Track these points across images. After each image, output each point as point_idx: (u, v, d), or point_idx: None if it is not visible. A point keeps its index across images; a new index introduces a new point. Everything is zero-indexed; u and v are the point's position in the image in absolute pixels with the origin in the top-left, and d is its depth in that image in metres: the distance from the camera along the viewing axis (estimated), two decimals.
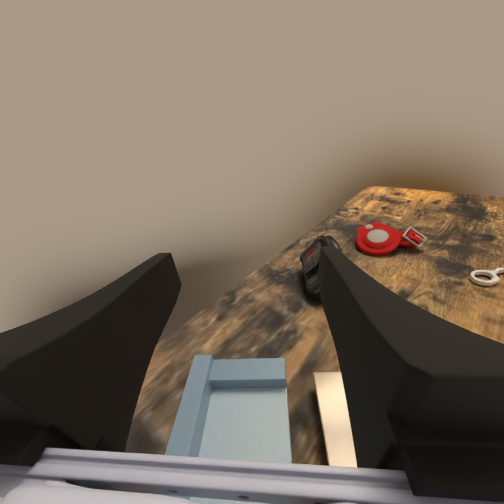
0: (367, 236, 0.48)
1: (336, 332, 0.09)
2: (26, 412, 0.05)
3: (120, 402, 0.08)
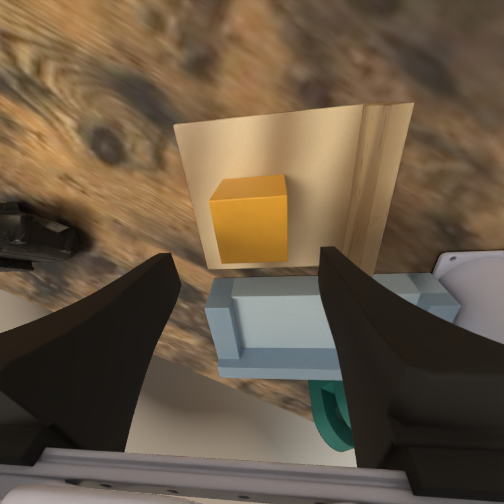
0: None
1: (336, 332, 0.09)
2: (26, 411, 0.05)
3: (120, 402, 0.08)
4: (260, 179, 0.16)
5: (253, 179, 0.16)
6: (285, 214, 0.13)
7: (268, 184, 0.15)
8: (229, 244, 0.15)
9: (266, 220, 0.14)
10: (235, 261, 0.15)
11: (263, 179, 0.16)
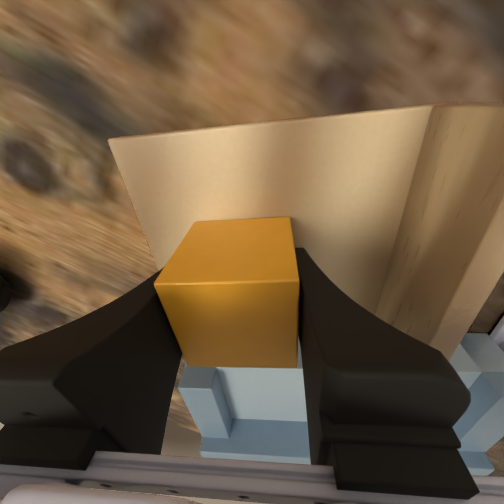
0: None
1: (300, 332, 0.09)
2: (81, 414, 0.05)
3: (157, 403, 0.07)
4: (251, 227, 0.10)
5: (240, 226, 0.10)
6: (295, 308, 0.07)
7: (264, 241, 0.09)
8: (198, 344, 0.09)
9: (261, 315, 0.08)
10: (210, 364, 0.09)
11: (256, 227, 0.10)
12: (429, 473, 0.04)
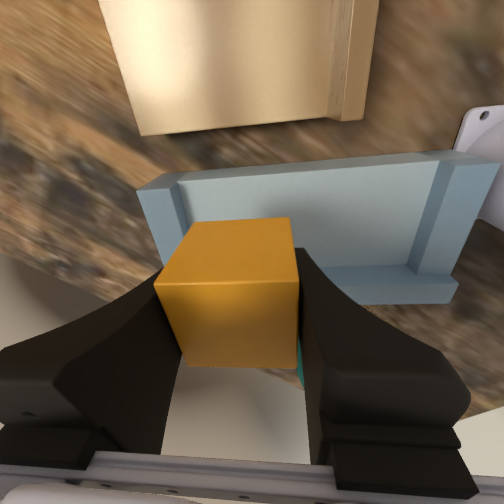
0: None
1: (300, 332, 0.09)
2: (82, 414, 0.05)
3: (157, 403, 0.07)
4: (251, 227, 0.10)
5: (240, 226, 0.10)
6: (295, 308, 0.07)
7: (264, 241, 0.09)
8: (198, 344, 0.09)
9: (260, 315, 0.08)
10: (210, 364, 0.09)
11: (256, 227, 0.10)
12: (429, 473, 0.04)
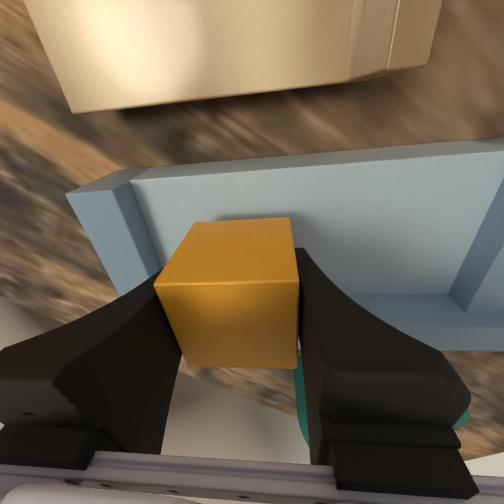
0: None
1: (300, 332, 0.09)
2: (81, 414, 0.05)
3: (156, 404, 0.07)
4: (251, 227, 0.10)
5: (240, 226, 0.10)
6: (294, 309, 0.07)
7: (264, 241, 0.09)
8: (199, 344, 0.09)
9: (261, 315, 0.08)
10: (210, 365, 0.09)
11: (256, 227, 0.10)
12: (429, 473, 0.04)
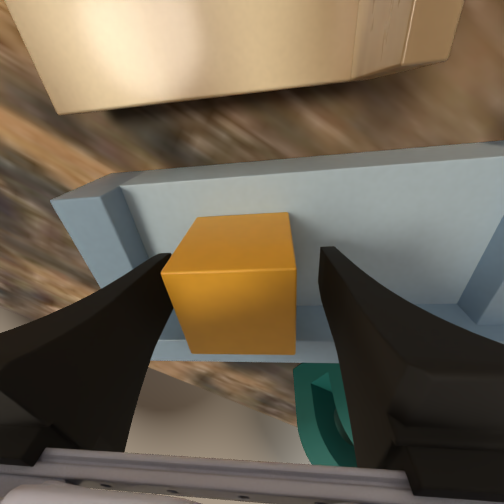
0: None
1: (336, 332, 0.09)
2: (26, 411, 0.05)
3: (120, 402, 0.08)
4: (252, 221, 0.10)
5: (241, 221, 0.10)
6: (292, 296, 0.08)
7: (263, 234, 0.09)
8: (202, 331, 0.09)
9: (260, 302, 0.08)
10: (212, 352, 0.10)
11: (256, 221, 0.10)
12: None
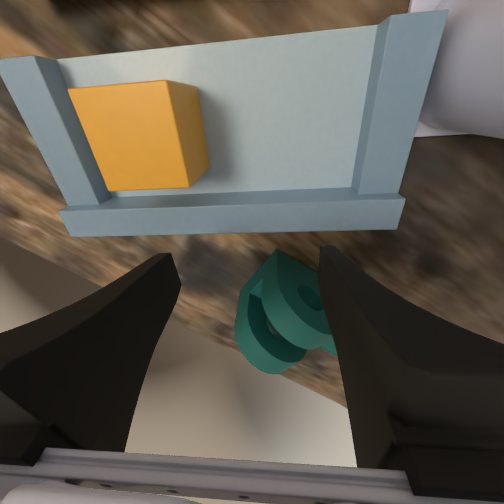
0: None
1: (336, 332, 0.09)
2: (26, 412, 0.05)
3: (120, 402, 0.08)
4: None
5: None
6: (171, 112, 0.10)
7: None
8: (111, 160, 0.11)
9: (149, 121, 0.10)
10: (124, 187, 0.12)
11: None
12: None
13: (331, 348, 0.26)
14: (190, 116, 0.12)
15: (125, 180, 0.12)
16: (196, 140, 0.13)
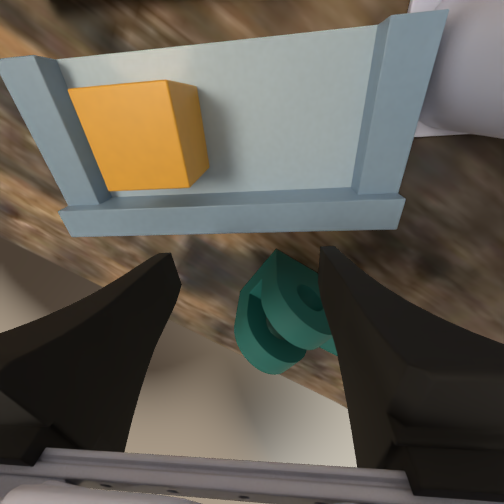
0: None
1: (336, 332, 0.09)
2: (26, 412, 0.05)
3: (120, 402, 0.08)
4: None
5: None
6: (171, 112, 0.10)
7: None
8: (111, 160, 0.11)
9: (149, 121, 0.10)
10: (124, 187, 0.12)
11: None
12: None
13: (331, 348, 0.26)
14: (190, 116, 0.12)
15: (125, 180, 0.12)
16: (196, 140, 0.13)
